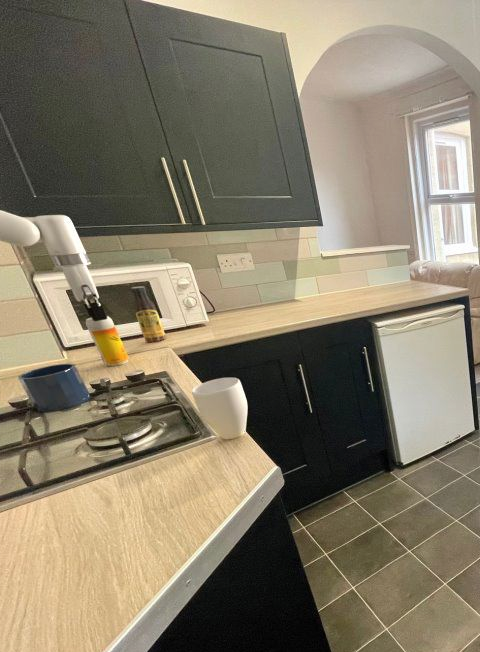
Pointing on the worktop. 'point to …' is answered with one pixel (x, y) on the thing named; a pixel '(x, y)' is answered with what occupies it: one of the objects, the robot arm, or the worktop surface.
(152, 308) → the sauce bottle
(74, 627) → the worktop surface
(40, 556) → the worktop surface
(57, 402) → the crock
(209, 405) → the mug
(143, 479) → the worktop surface
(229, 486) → the worktop surface
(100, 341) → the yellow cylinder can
